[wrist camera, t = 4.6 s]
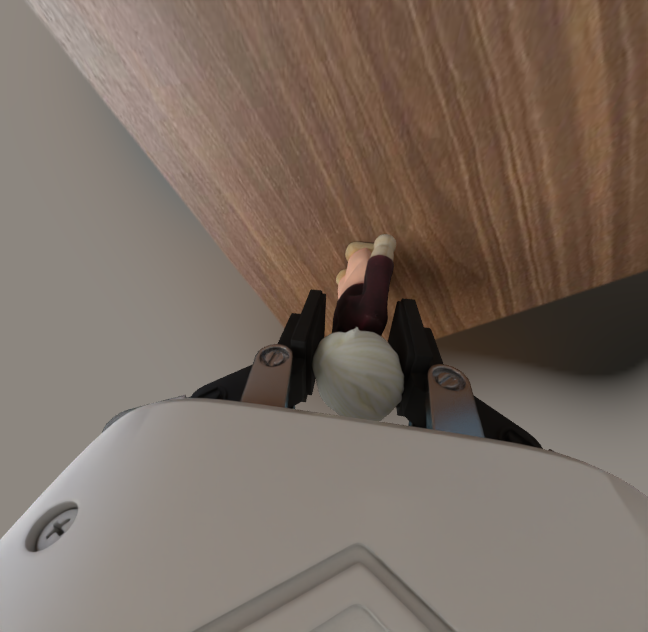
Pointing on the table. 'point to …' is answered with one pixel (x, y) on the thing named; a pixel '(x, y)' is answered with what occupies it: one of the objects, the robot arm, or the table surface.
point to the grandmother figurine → (361, 338)
